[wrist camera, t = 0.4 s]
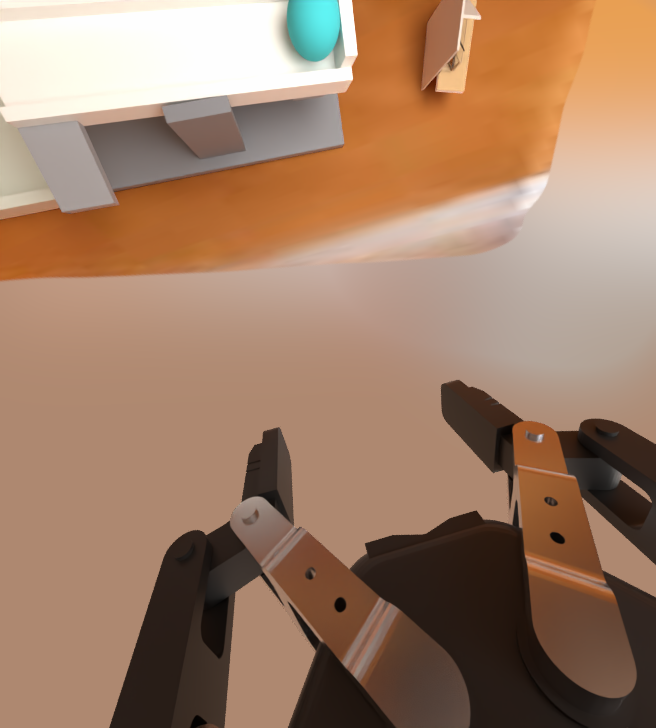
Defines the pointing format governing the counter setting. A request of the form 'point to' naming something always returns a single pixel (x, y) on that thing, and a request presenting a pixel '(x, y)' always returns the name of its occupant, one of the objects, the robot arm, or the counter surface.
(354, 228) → the counter surface
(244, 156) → the stand
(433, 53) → the architectural model
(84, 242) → the counter surface
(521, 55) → the counter surface
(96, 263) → the counter surface
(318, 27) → the ball
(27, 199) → the tray
